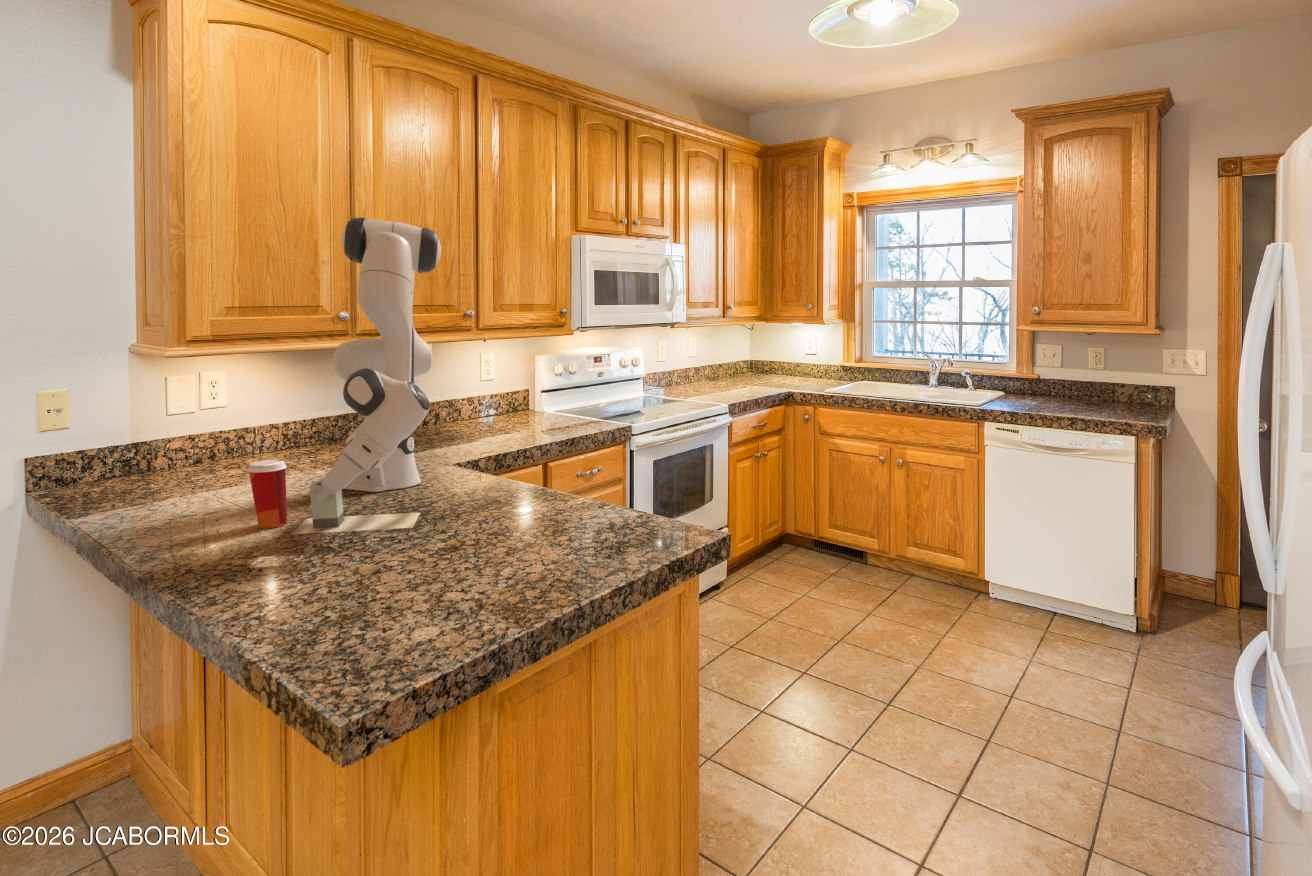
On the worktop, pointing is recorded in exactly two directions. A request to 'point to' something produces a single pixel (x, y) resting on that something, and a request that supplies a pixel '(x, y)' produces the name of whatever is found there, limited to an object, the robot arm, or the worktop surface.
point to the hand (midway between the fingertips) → (323, 495)
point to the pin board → (363, 523)
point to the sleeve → (326, 508)
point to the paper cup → (269, 492)
